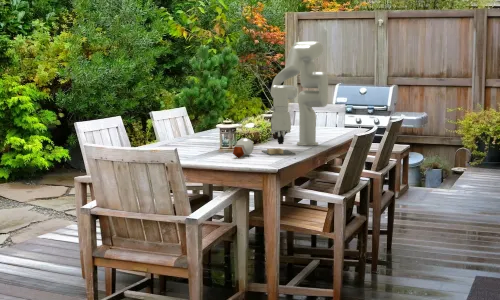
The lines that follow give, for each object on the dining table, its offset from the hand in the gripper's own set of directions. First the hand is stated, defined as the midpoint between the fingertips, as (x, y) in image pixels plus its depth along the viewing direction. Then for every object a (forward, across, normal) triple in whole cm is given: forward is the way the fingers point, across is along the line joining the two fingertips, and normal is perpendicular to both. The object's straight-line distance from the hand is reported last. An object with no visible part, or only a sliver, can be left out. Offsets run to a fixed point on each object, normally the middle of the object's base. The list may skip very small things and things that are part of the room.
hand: (280, 143), depth 381 cm
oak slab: (+3, -4, 0) cm, 5 cm away
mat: (+5, -1, +1) cm, 5 cm away
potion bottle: (+5, -22, -6) cm, 24 cm away
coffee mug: (+5, +20, +65) cm, 68 cm away
